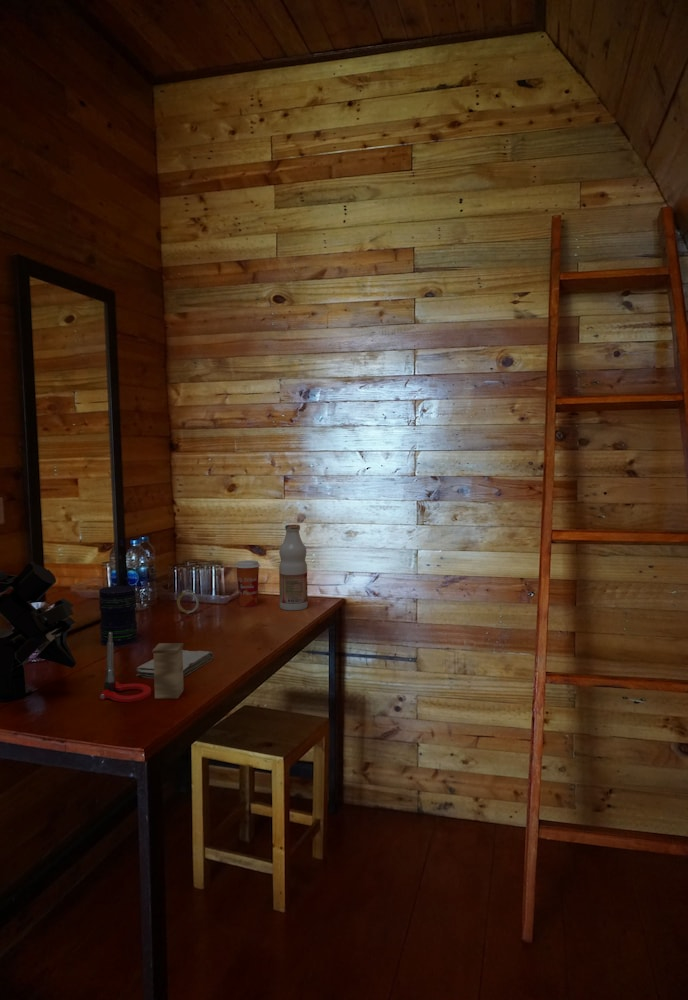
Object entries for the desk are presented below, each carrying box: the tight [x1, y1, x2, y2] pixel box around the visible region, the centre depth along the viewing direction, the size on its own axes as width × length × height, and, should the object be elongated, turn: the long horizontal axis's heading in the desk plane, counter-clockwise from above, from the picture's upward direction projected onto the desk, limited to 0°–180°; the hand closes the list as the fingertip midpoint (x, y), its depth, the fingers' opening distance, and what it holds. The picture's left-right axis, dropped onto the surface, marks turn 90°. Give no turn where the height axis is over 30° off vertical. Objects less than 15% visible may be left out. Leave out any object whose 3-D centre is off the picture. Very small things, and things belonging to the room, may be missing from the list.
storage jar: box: [98, 577, 138, 648], centre depth 190 cm, size 10×10×18 cm
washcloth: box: [135, 649, 214, 680], centre depth 168 cm, size 12×18×3 cm, turn 164°
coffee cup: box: [235, 559, 261, 608], centre depth 234 cm, size 8×8×15 cm
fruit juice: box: [278, 524, 309, 612], centre depth 229 cm, size 9×9×28 cm
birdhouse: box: [151, 642, 184, 699], centre depth 151 cm, size 5×9×11 cm, turn 0°
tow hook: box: [98, 632, 152, 703], centre depth 149 cm, size 9×14×10 cm
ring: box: [176, 588, 200, 614], centre depth 223 cm, size 7×3×8 cm, turn 83°
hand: (74, 665), depth 149 cm, fingers closed
